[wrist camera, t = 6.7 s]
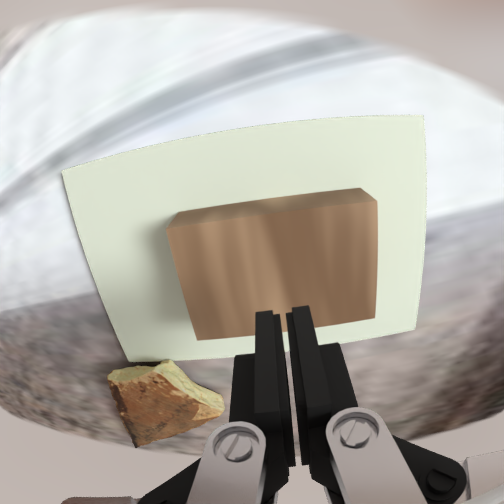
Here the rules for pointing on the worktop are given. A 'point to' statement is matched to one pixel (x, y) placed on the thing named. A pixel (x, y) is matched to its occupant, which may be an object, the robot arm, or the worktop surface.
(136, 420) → the shard
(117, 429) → the worktop surface
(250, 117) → the worktop surface
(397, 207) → the sage mat
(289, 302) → the walnut slab
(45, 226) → the worktop surface
